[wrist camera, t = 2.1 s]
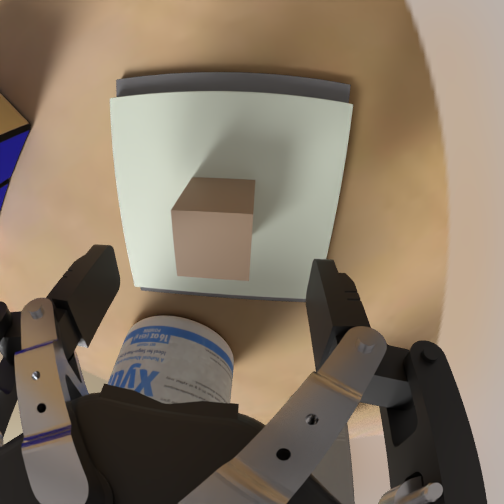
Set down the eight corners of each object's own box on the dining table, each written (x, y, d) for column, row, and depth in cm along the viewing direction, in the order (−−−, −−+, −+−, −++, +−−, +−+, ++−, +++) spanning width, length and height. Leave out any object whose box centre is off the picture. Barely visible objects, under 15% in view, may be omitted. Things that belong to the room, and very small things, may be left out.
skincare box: (321, 425, 33) (329, 534, 19) (267, 423, 32) (265, 538, 19) (347, 394, 28) (365, 528, 15) (284, 392, 28) (287, 539, 14)
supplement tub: (155, 289, 20) (87, 489, 8) (258, 346, 23) (253, 525, 11) (115, 347, 25) (67, 486, 12) (198, 388, 28) (179, 521, 15)
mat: (120, 79, 13) (116, 79, 12) (348, 84, 13) (350, 84, 12) (143, 285, 20) (141, 290, 20) (311, 297, 20) (312, 302, 20)
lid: (116, 97, 13) (65, 109, 9) (348, 103, 13) (385, 114, 9) (138, 279, 19) (113, 329, 15) (314, 291, 19) (325, 347, 15)
